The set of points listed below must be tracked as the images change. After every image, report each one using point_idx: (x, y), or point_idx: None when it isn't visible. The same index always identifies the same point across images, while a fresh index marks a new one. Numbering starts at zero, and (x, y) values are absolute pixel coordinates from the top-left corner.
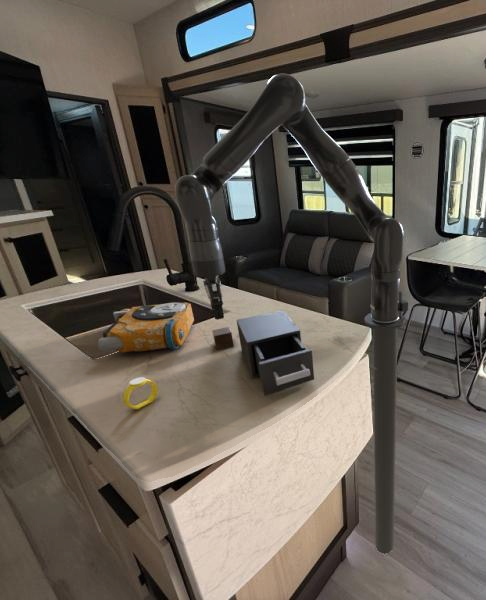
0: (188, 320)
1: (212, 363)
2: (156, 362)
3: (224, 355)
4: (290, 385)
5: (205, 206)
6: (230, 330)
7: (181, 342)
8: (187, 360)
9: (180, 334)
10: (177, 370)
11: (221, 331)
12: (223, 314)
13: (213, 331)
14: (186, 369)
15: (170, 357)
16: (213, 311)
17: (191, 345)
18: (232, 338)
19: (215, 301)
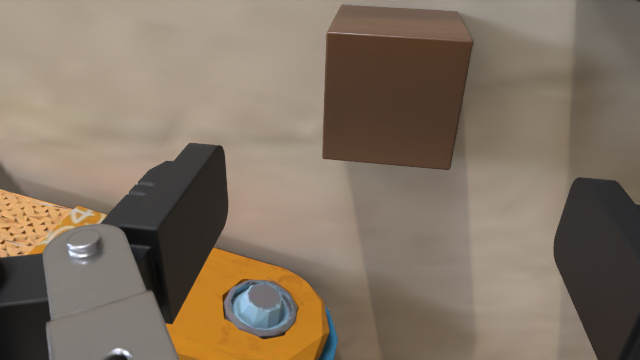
0: (28, 236)
1: (599, 170)
2: (378, 347)
3: (549, 93)
4: None
5: None
6: (421, 38)
7: (288, 280)
8: (454, 257)
9: (279, 314)
10: (531, 302)
11: (395, 107)
12: (627, 199)
13: (354, 156)
14: (555, 275)
15: (363, 305)
16: (581, 318)
17: (275, 217)
18: (464, 26)
19: (189, 228)
